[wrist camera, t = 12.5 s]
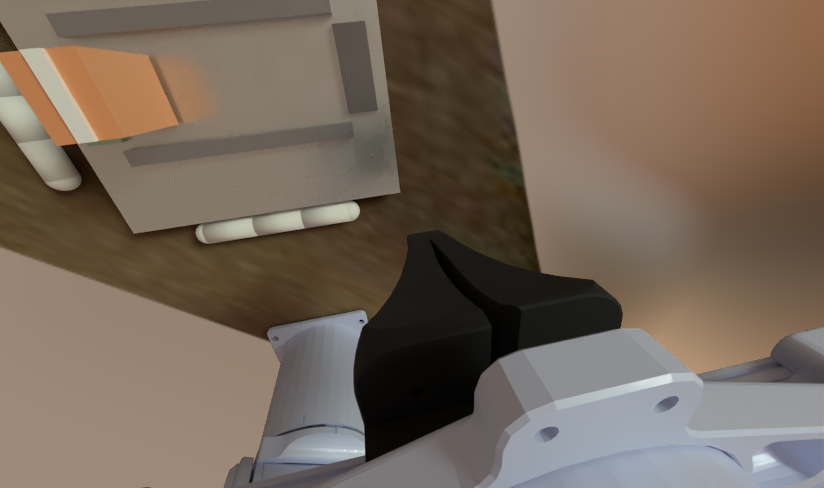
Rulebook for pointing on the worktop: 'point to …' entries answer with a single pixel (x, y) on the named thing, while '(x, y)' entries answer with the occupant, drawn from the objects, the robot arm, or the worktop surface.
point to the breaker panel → (235, 103)
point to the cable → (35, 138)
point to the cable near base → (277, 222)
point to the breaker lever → (89, 92)
